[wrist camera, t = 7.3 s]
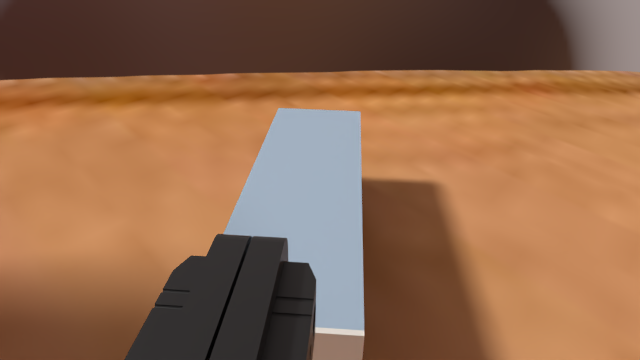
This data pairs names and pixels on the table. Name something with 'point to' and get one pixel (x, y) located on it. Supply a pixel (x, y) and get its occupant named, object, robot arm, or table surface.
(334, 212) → the bluegrey block
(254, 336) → the robot arm
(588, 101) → the table surface
